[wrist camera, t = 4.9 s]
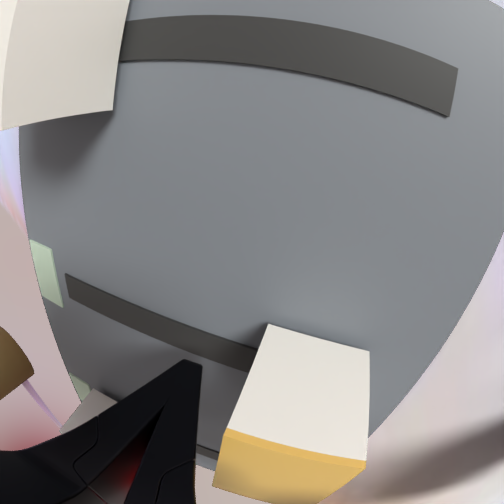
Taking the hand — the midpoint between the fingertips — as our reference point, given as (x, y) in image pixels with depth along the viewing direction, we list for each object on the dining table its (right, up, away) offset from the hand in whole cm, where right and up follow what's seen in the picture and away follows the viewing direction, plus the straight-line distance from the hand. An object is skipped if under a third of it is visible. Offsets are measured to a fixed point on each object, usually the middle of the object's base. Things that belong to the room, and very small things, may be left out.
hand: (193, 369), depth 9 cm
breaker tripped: (+3, 0, 0) cm, 3 cm away
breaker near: (-3, +9, -3) cm, 10 cm away
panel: (0, +1, +2) cm, 3 cm away
